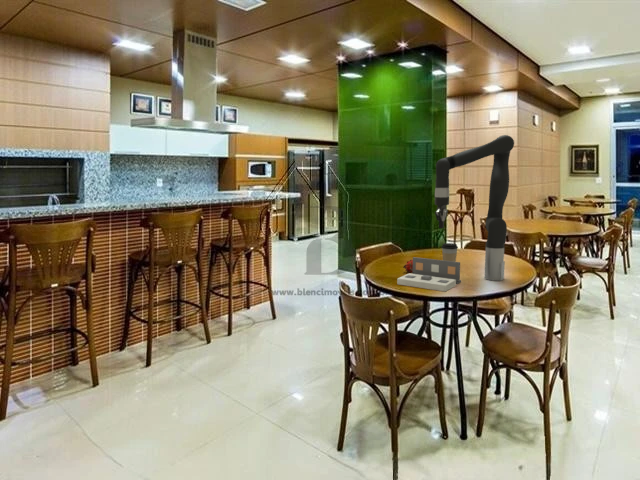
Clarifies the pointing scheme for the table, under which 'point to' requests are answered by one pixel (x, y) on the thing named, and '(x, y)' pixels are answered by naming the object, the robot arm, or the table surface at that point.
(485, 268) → the robot arm
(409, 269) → the dragon fruit
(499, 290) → the table surface
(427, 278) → the button middle
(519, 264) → the table surface
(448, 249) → the coffee cup
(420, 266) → the pattern sign
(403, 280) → the button board
